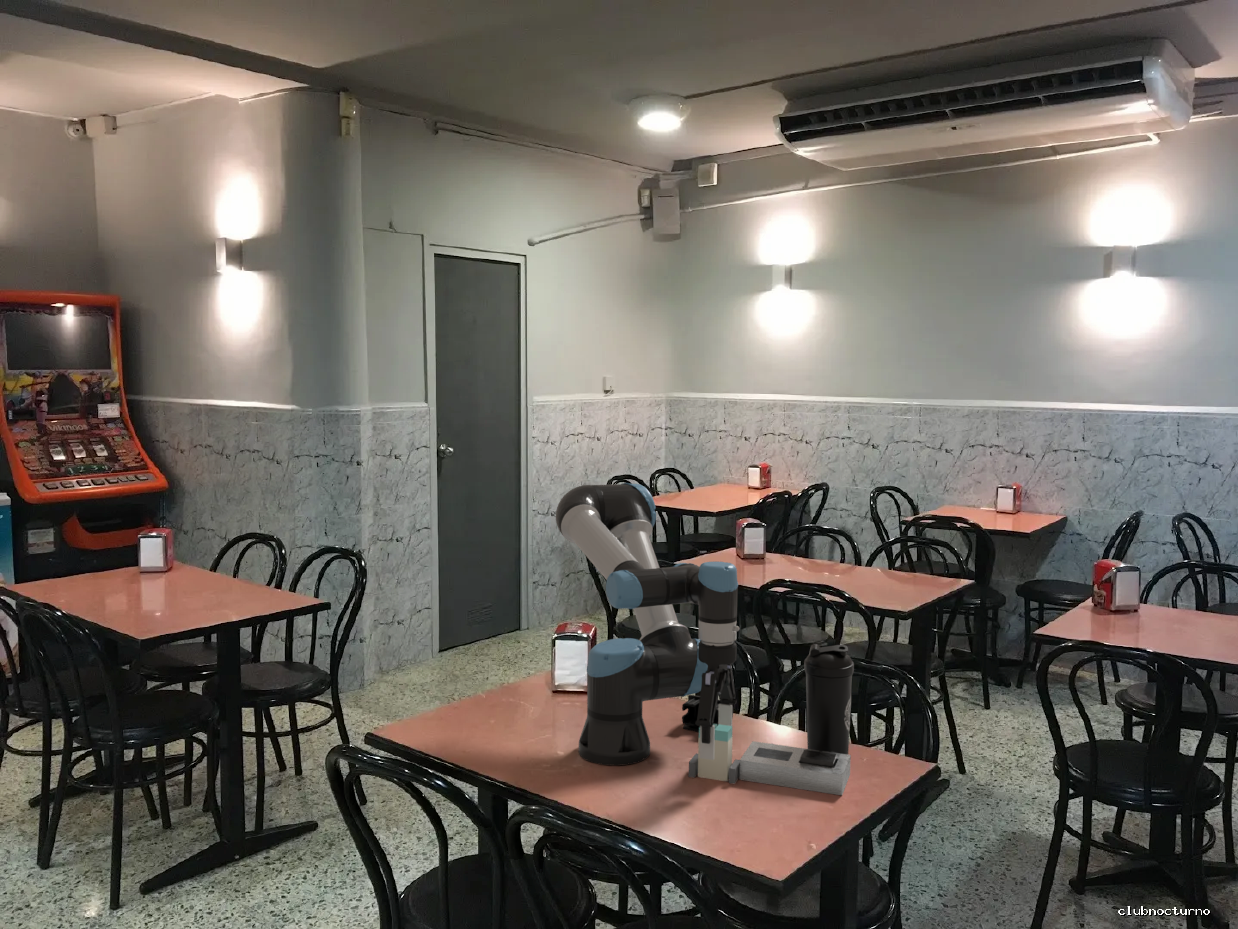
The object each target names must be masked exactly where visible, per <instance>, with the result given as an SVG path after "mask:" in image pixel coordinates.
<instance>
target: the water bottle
mask: <svg viewBox="0 0 1238 929" xmlns="http://www.w3.org/2000/svg"><path fill="white" fill-rule="evenodd" d="M848 652H849V648H848V646H847V645H844V644H836V645H829V646H822V647H820V646H819V644H817V643H813V644H811V645H810V649H809V654H808V655H807V656H806V658H805V659H804V661H803V663H804V664H803V665H804V666H803V667H804V668H803V669H804V672H805V684H806V685H805V687H806V688H805V692H806V729H807V730H806V733H807V737H806V739H807V749H812V750H819V751H826V752H833V753H840V754H847V755H849V745H850V729H851V728H850V727H851V708H852V679H853V675H854V671H855V663H854V661H853V660H852V658H851V656H850V655H849V654H847V653H848Z"/></svg>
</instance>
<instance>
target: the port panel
mask: <svg viewBox="0 0 1238 929" xmlns="http://www.w3.org/2000/svg"><path fill="white" fill-rule="evenodd" d="M851 758H852V757H851V754H848V755H847V754H840V753H833V752H826V751H819V750H812V749H808V748H803V747H798V746H796V747H795V746H789V745H782V744H775V743H768V742H761V741H754V740H753V741H751V742H750V744H749V746H748V747H747V749H746V750H745V751H744V753H743V755H742V756H741V758H740V759H739V760H740V773H739V778H738V780H741V781H747V782H754V783H757V784H758V783H760V784H767V785H773V786H779V787H785V788H792V789H799V790H804V791H805V790H806V791H810V792H817V793H823V794H829V795H837V796H843V794H844V792H845V790H846V788H847V787H846V786H847V783H848V781H849V778H850V775H851Z"/></svg>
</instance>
